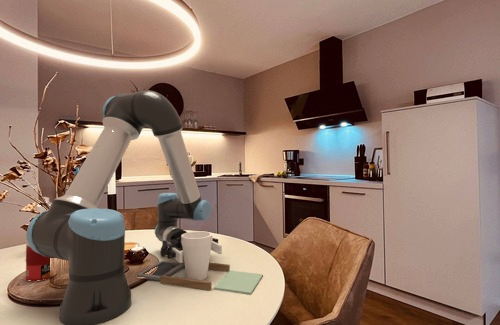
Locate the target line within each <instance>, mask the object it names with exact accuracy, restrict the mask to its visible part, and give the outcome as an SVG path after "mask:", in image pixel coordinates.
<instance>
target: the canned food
mask: <svg viewBox="0 0 500 325" xmlns="http://www.w3.org/2000/svg"><path fill="white" fill-rule="evenodd" d="M25 245H26V246H25V247H26V248H25V278H26V280H27V281H28V280H31V281H37V280H43V279H47V280H49V279H48V278H50V257H46V256H43V255H41V254H39V253H37V252H35V251H34V250H33V249H32V248H31V247H30V246H29V244H28V242H27V243H26V244H25ZM50 279H51V278H50ZM31 281H30V282H31ZM43 281H44V280H43ZM37 282H38V281H37Z"/></svg>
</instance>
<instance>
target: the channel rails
mask: <svg viewBox="0 0 500 325" xmlns="http://www.w3.org/2000/svg"><path fill="white" fill-rule="evenodd" d="M230 265H231V264H229V263H221V262H220V263H218V262H211V261H209V266H208V271H210V270H211V271H220V272H227V273H228V272H229V271H230V270H231V269H230V267H231V266H230ZM159 284H160V285H161V284H162V285H168V286H175V287H183V288H190V289H198V290H204V291H211V290H212V289H213V288H212V286H213V285H212V284H213V283H212V281H210V280H209V281H208V280H194V279H187V278H186V277H185V278H184V277H178V276H173V275H172V276H164V275H162V276H160V282H159Z"/></svg>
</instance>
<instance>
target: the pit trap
mask: <svg viewBox="0 0 500 325" xmlns="http://www.w3.org/2000/svg"><path fill="white" fill-rule="evenodd" d="M157 266H158V268H157V270H156V271H155V272H154V273H153V274H152V275H148V274H145V273H147V272H149V271H150V270H151V269H153V268H155V267H157ZM183 268H184V269H185V263H184V262H182V263H179V262H178V261H170V260H161V261H159V262H157V263H155V264H153V265H151V266H150V267H148V268H146V269H145V270H143V271H140V272H139V273H137V274H136V278H137V277H146V281H154V282H158V283H160V276H162V275H164V276H172V277H173V275H175V274H176V273H177V272H179V271H181V270H182V269H183Z"/></svg>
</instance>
